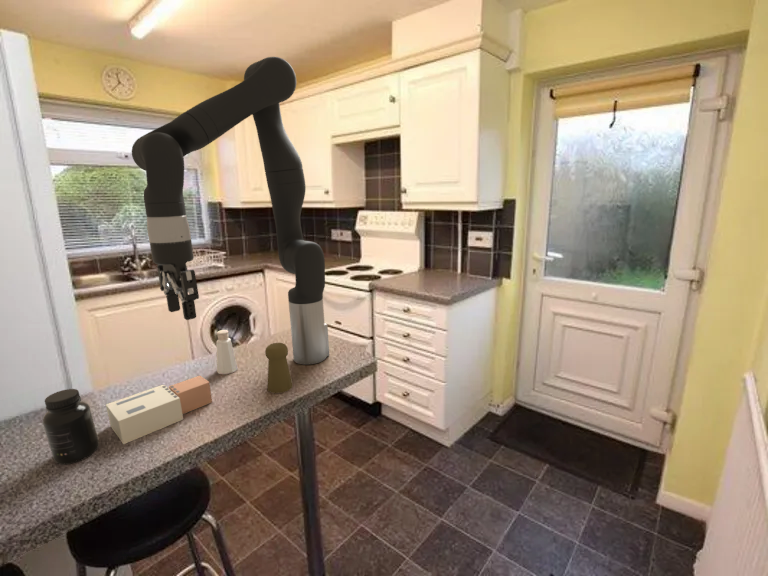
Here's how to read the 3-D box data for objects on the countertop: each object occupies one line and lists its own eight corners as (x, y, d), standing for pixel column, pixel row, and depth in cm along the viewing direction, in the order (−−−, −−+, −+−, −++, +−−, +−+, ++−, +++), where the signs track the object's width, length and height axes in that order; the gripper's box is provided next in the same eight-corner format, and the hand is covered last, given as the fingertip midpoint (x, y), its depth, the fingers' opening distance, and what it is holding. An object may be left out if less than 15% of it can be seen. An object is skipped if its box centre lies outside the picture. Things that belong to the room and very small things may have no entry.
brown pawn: (286, 394, 92) (282, 350, 90) (262, 392, 94) (257, 348, 91) (296, 382, 98) (293, 340, 95) (274, 380, 99) (270, 339, 97)
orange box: (202, 394, 93) (199, 375, 92) (212, 402, 90) (209, 381, 88) (172, 406, 88) (168, 386, 87) (181, 414, 85) (177, 393, 83)
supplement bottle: (70, 443, 76) (55, 386, 73) (107, 440, 77) (94, 384, 74) (43, 467, 70) (26, 406, 67) (84, 464, 70) (69, 403, 67)
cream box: (167, 404, 89) (163, 384, 88) (183, 419, 83) (179, 397, 82) (110, 426, 81) (105, 404, 80) (123, 444, 75) (118, 420, 74)
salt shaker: (222, 376, 102) (217, 336, 99) (212, 370, 105) (207, 331, 103) (242, 369, 106) (237, 330, 103) (231, 363, 109) (226, 326, 107)
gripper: (204, 239, 78) (214, 317, 82) (176, 234, 88) (187, 304, 92) (163, 243, 73) (176, 326, 77) (138, 238, 82) (151, 312, 86)
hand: (182, 314), depth 84 cm, fingers open, 8 cm apart
